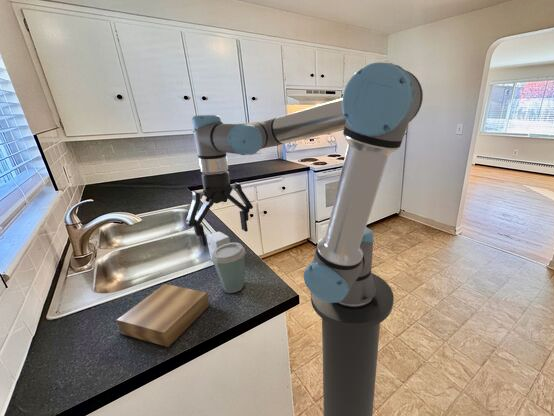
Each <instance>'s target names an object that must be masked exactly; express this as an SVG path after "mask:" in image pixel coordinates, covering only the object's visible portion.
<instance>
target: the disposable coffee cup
mask: <svg viewBox="0 0 554 416" xmlns="http://www.w3.org/2000/svg"><path fill="white" fill-rule="evenodd" d="M245 256H246V250H245V247H244V246H243V244H242V243H240V242H230V243H228V244H224V245H222V246H220V247H218V248H217V249H216V250H215V251H214V252H213V253H212V259H211V261H212V262H213V266H214V267H215V271H216V273H217V275H218V278H219V281H220V284H221V286H222V289H223V290H224V291H225V292H226V293H228V294H233V293H238V292H240V291H241V290H242V289H243V288H244V285H245V260H246V259H245Z"/></svg>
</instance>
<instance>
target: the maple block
mask: <svg viewBox="0 0 554 416" xmlns="http://www.w3.org/2000/svg"><path fill="white" fill-rule="evenodd" d="M209 306H210V302H209V297H208V292H206V291H202V290H197V289H191V288H186V287H182V286H177V285H172V284H167V283H164V284H163V285H161V286H159V288H157V289H155V290H154V291H153V292H152V293H150V294H149V295H148V296H146V297H145V298H143V300H141V301H140V302H138V303H137V304H135V305H134V306H133V307H132V308H131V309H129V310H128V311H126V312H125V313H124V314H122V315H121V316H120V317H118V318H116V323H117V325H118V328H119V331H120V333H121V335H124V336H127V337H130V338H131V337H132V338H135V339H138V340H142V341H146V342H149V343H153V344H156V345H159V346H162V347H163V346H164V347H166V348H169V347H171V345H172V344H174V342H176V340H177V339H179V337H180V336H181V335H182V334H183V333H184V332H185V331H186V330H187V329H188V328H189V327H190V326H191V325H192V324H193V323H194V322H195V321H196V320H197V319H198V318H199V317H200V316H201V315H202V314H203V313H204V312H205V311H206V310H207V309H208V308H209Z"/></svg>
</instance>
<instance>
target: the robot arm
mask: <svg viewBox="0 0 554 416" xmlns="http://www.w3.org/2000/svg"><path fill="white" fill-rule="evenodd" d="M423 97H424V93H423V87H422V84H421V82H420V81H419V79H418V78H417V76H416V75H415V74H413V73H412V72H410V71H409V70H405V69H404V68H403V67H402V66H400V65H398V64H394V63H392V62H372V63H368V64H366V65H365V66H363V67H361V68H359V69H358V70H357V71H356V72H354V74H352V76H351V77H350V78H349V80H348V81H347V83H346V85H345V86H344V89H343V92H342V97H341V98H338V99H335V100H332V101H328V102H325V103H321V104H318V105H315V106H314V105H313V106H311V107H308V108H305V109H301V110H297V111H295V112H292V113H288V114H284V115H281V116H278V117H274V118H271V119H267V120H263V121H262V120H261V121H253V122H244V123H223V120H222V116H220V115H217V114H197V115H193V116H192V119H191V123H192V134H193V137H194V143H195V148H196V154H197V157H198V164H199V170H200V172H201V175H200V176H201V182H202V187H203V188H202V189H203V190H202V191H196V190H193V191H192V200H191V203H190V207H189V209H188V213H187V216H186V219H185V224H186V225H187V226H188V227H190V228H191V227H193V231H194V234H195V235H196V236H197V237H198V238H199V241H200V244H201V245H202V246H203V247H205V246H207V239H206V235H205V230H204V225H203V224H202V222H203V221H204V219H205V217H206V215H207V214H208V213H209V210H210V209H211V208H212V207H213V206H214V204H220V203H224V202H227V200H229V202H231V203H232V204H234V206H236V207H237V208H239V209H240V210H239V218H240V219H239V220H240V227H241V230H242V231H244V232H245V233H246V232H248V231H249V230H248V221H249V219H250V218H249V213H250V210H252V209H253V208H254V206H253V204H252V203H251V201H250V200H249V198H248V197H247V195H246V194H245V193H244V190H243V188H242V185H241V184H240V183H238V182H234V183H232V184H231V178H230V172H229V171H228V170H229V163H228V162H229V161H228V156H227V155H228V154H233V155H235V154H236V155H240V156H253V155H255V154H258V152H259V151H260V150H262V149H266V148H273V147H278V146H280V145H285V144H289V143H293V142H297V141H301V140H306V139H311V138H316V137H320V136H324V135H328V134H333V133H337V132H341V131H343V132H342V135H343V137H344V138H345V140H346V142H347V147H346V151H345V156H344V160H343V164H342V167H341V171H340V176H339V180H338V184H337V188H336V192H335V195H334V200H333V205H332V208H331V212H330V216H329V220H328V225H327V228H326V233H325V236H322V237H321V238H320V239H318V241H317V244H316V248H315V252H314V256H313V260H311V261H312V262H311V263H309V264H308V265H307V266H306V268H305V270H304V271H303V281H304V284H305V286H306V288H307V289H308V290H309V292H310V294H311V293H312V294H313V295H314V296H316V297H317V298H318V299H320V300H322V301H324V302H328V303H335V304H337V305H339V306H341V307H344V308H348V309H359V308H363V307H366V306H368V305H370V304H371V303H372V302H373V301H374V302H375V303H377V302H378V301H377V300H376V299H375V296H376V288H375V284H374V281H373V278H372V275H371V273H372V265H373V250H374V241H375V239H374V232H373V231H372V230H371V229H370V228H368V227H367V225H368V222H369V219H370V216H371V213H372V210H373V207H374V203H375V200H376V198H377V195H378V191H379V188H380V185H381V182H382V179H383V176H384V172H385V170H386V166H387V164H388V160H389V157H390V155H391V154H392V153H394V152H396V151H398V150H400V148H401V145H402V143H403V139H404V137H405V135H406V131H407V128H408V125H409V123H411V122H412V121H413V120H414V119H415V118H416V117H417V115H418V114H419V112H420V110H421V107H422V104H423V100H424V98H423ZM233 191H234V192H235V193H236V194H237V195H238V197H239V198H240V199H241V201H242V203H241V202H240V201H238V199H236V198H235V196H234V195H232V194H231V193H232V192H233ZM203 196H204V197H205V198H204V201H203V203H202V205H201V207H200V203H201V200H202V199H203ZM199 207H200V208H199Z"/></svg>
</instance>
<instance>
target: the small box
mask: <svg viewBox="0 0 554 416" xmlns="http://www.w3.org/2000/svg"><path fill="white" fill-rule="evenodd" d="M205 238H206V243H207V247H208V251H209V252H208V253H209V257H210V259H211V260H212V253H213V252H214V251H215V250H216V249H217V248H218V247H220V246H222V245H224V244H228V243H231V240H230V237H229V236H228V235H226V234H225V233H223V232H221V231H216V232H213V233H211V234H208V235H205Z"/></svg>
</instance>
